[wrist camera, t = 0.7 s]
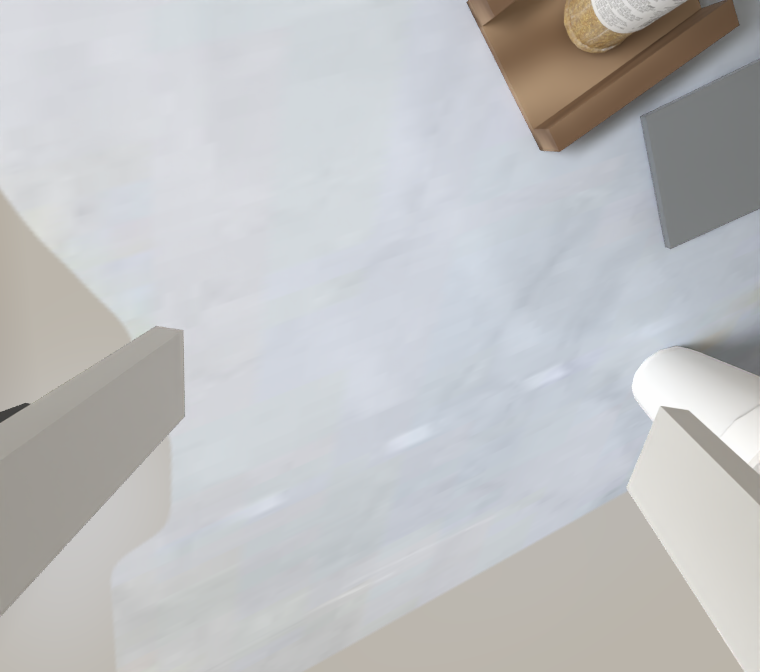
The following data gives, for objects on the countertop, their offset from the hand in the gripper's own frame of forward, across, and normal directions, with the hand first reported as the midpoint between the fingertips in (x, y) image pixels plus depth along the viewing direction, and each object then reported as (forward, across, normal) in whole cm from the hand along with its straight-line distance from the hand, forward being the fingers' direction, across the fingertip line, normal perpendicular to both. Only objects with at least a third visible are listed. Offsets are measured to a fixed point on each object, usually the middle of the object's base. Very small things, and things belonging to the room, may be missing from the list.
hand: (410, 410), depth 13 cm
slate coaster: (+26, +20, +10) cm, 34 cm away
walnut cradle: (+24, +8, +16) cm, 30 cm away
